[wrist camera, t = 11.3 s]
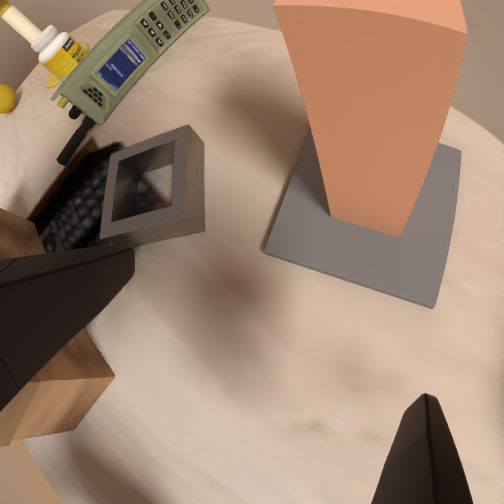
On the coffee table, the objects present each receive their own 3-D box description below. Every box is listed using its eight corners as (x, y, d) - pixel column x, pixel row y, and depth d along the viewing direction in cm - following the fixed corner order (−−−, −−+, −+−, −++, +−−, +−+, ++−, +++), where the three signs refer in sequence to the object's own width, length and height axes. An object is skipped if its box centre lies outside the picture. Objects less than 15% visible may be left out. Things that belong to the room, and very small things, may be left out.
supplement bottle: (94, 73, 32) (50, 31, 23) (66, 94, 33) (22, 57, 24) (97, 54, 34) (59, 15, 25) (71, 74, 35) (32, 39, 26)
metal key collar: (207, 311, 18) (187, 307, 16) (71, 319, 22) (48, 315, 20) (204, 143, 22) (188, 124, 19) (83, 187, 25) (65, 176, 23)
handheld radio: (215, 10, 28) (74, 173, 27) (197, 11, 29) (64, 165, 28) (191, -30, 22) (26, 143, 21) (173, -26, 23) (20, 137, 22)
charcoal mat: (431, 308, 14) (434, 307, 14) (266, 254, 18) (263, 252, 18) (459, 155, 16) (461, 150, 15) (317, 118, 19) (315, 113, 19)
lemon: (26, 95, 41) (0, 75, 34) (11, 119, 40) (-17, 101, 33) (18, 97, 43) (-6, 79, 36) (4, 120, 43) (-21, 103, 35)
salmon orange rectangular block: (399, 238, 15) (467, 33, 3) (331, 217, 17) (272, 5, 5) (412, 175, 16) (450, -32, 4) (349, 158, 17) (315, -50, 5)
